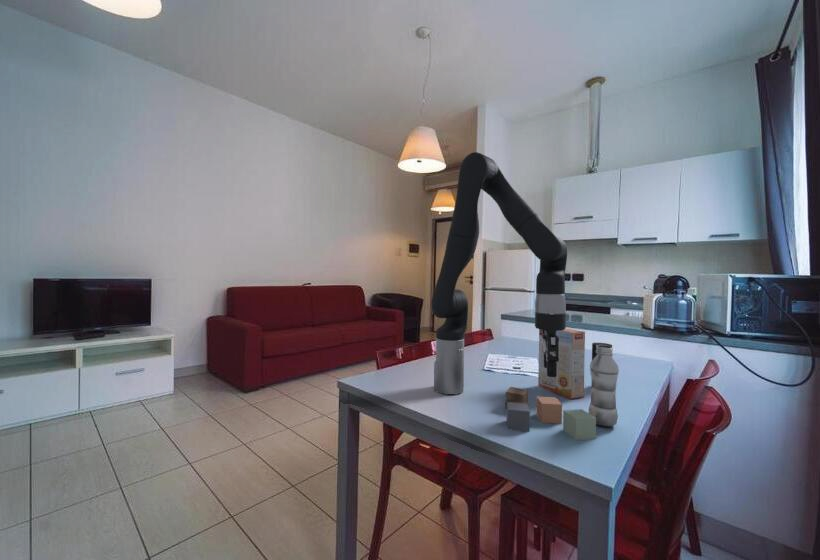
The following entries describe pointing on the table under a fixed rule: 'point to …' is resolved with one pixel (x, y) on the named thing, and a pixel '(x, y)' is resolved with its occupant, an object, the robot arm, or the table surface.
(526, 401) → the walnut cube
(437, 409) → the table surface
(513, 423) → the charcoal cube
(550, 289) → the robot arm
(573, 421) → the sage cube
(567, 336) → the cracker box
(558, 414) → the terracotta cube
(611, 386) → the plastic bottle
